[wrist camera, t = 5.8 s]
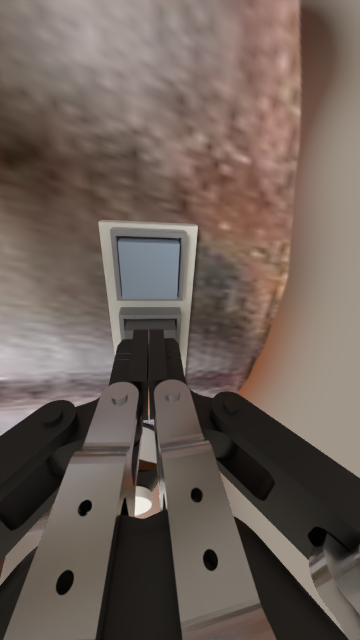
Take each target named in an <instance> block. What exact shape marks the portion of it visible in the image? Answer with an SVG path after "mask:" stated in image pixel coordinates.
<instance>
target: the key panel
mask: <svg viewBox="0 0 360 640" xmlns="http://www.w3.org/2000/svg"><path fill="white" fill-rule="evenodd" d="M98 225H99V233H100V241H101V249H102V257H103V265H104V273H105V281H106V289H107V297H108V305H109V313H110V321H111V329H112V337H113V345H114V353H115V355H116V350H117V346H118V345H119V343H120V342H121V341H122V340H123V339H125V332H124V330H125V325H126V320H127V319H174V320H175V326H176V341H177V342H178V344H179V348H180V353H181V359H182V365H183V370H184V376H185V368H186V356H187V345H188V334H189V322H190V311H191V300H192V288H193V277H194V266H195V255H196V243H197V232H198V226H197V225H196V224H187V223H165V222H143V221H121V220H101V221H99V222H98ZM121 237H132V238H160V239H177V240H178V242H179V243H180V250H179V269H178V289H177V299H123V297H122V285H121V274H120V262H119V251H118V241H119V239H120V238H121Z"/></svg>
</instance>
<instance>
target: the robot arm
mask: <svg viewBox="0 0 360 640" xmlns="http://www.w3.org/2000/svg"><path fill="white" fill-rule="evenodd" d="M148 397H149V410H150V420H151V419H154V434H155V449H156V460H157V471H158V482H159V493H160V511H161V512H159V513H157V514H154V515H152V516H150V517H148V518H145V519H139V518H135V517H134V514H135V494H136V483H137V475H138V466H139V457H140V449H141V440H142V433H143V420H148ZM220 472H221V473H222V474H223V475H224V476H225V477H226V478H227V479H228V480H229V481H230V482H231V483H232V484H233V485H234V486H235V487H236V488H237V489H238V490H239V491H240V492H241V493H242V494H243V495H244V496H245V497H246V498H247V499H248V500H249V501H250V502H251V503H252V504H253V505H254V506H255V507H256V508H257V509H258V510H259V511H260V512H261V513H262V514H263V515H264V516H265V517H266V518H267V519H268V520H269V521H270V522H271V523H272V524H273V525H274V526H275V527H276V528H277V529H278V530H279V531H280V532H281V533H282V534H283V535H284V536H285V537H286V538H287V539H288V540H289V541H290V542H291V543H292V544H293V545H294V546H295V547H296V548H297V549H298V550H299V551H300V552H301V553H302V554H303V555H304V556H305V557H306V558H307V559H308V560H309V567H310V573H311V577H312V580H313V583H314V585H315V587H316V590H317V592H318V593H319V595H320V597H321V598H322V600H323V601H324V603H325V604H326V606H327V607H328V608H329V609H330V611H331V612H332V613H333V615H334V616H335V617H336V619H337V621H338V622H339V624H340V625H341V627H342V629H343V631H344V633H345V634H344V633H343V632H342V631H341V630H340V629H339V628H338V626H337V625H336V624H335V623H334V622H333V621H332V620H331V618H330V617H329V616H328V615H327V614H326V613H325V612H324V611H323V609H322V608H321V607H320V606H319V605H318V604H317V603H316V601H315V600H314V599H313V598H312V597H311V596H310V595H309V593H308V592H307V591H306V590H305V589H304V588H303V587H302V586H301V584H300V583H299V582H298V581H297V580H296V579H295V578H294V576H293V575H292V574H291V573H290V572H289V571H288V570H287V568H286V567H285V566H284V565H283V564H282V563H281V562H280V560H279V559H278V558H277V557H276V556H275V555H274V553H273V552H272V551H271V550H270V549H269V548H268V547H267V545H266V544H265V543H264V542H263V541H262V540H261V539H260V538H259V537H258V535H257V534H256V533H255V532H254V531H253V530H252V529H251V528H249V527H248V526H247V525H246V524H245V523H244V522H242V521H241V520H239V519H238V518H236V517H234V516H233V513H232V510H231V507H230V504H229V500H228V497H227V494H226V491H225V487H224V484H223V481H222V478H221V474H220ZM53 504H54V505H53ZM52 505H53V507H52V510H51V513H50V515H49V518H48V521H47V523H46V526H45V529H44V532H43V534H42V537H41V540H40V542H39V545H38V546H37V547H36V548H35V549H34V550H32V551H31V552H30V553H29V554H28V555H27V556H26V557H25V558H24V559H23V560H22V561H21V562H20V563H19V564H18V565H17V566H16V568H15V569H14V570H13V571H12V572H11V573H10V575H9V576H8V577H7V578H6V579H5V581H4V582H3V583H2V584H1V585H0V640H360V478H359V477H357V476H355V475H354V474H353V473H351V472H350V471H348V470H347V469H346V468H344V467H343V466H341V465H340V464H338V463H337V462H335V461H334V460H332V459H331V458H330V457H328V456H327V455H325V454H324V453H322V452H321V451H320V450H318V449H317V448H315V447H314V446H312V445H311V444H310V443H308V442H307V441H305V440H304V439H302V438H301V437H299V436H298V435H297V434H295V433H294V432H292V431H291V430H289V429H288V428H286V427H285V426H284V425H282V424H281V423H279V422H278V421H276V420H275V419H273V418H272V417H270V416H269V415H268V414H266V413H265V412H263V411H262V410H260V409H259V408H258V407H256V406H255V405H253V404H252V403H250V402H249V401H248V400H246V399H245V398H243V397H242V396H240V395H239V394H236V393H233V392H227V391H226V392H220V393H218V394H217V395H215V397H214V398H210V397H205V396H201V395H198V394H196V393H194V392H193V391H192V390H190V389H189V387H188V386H187V384H186V381H185V376H184V370H183V365H182V359H181V353H180V348H179V344H178V342H177V341H176V340H175V339H174V338H164V331H163V329H149V341H148V329H134V331H133V338H132V339H123V340H122V341H121V342H120V343H119V345H118V346H117V350H116V355H115V359H114V364H113V368H112V373H111V378H110V382H109V386H108V387H107V388H106V389H105V390H104V391H103V392H102V394H101V396H100V397H99V398H98V399H96V400H94V401H92V402H90V403H87V404H84V405H80V406H77V407H75V406H74V405H73V404H72V403H71V402H69V401H66V400H57V401H53V402H50V403H48V404H46V405H44V406H42V407H41V408H39V409H38V410H36V411H35V412H34V413H32V414H31V415H29V416H28V417H27V418H25V419H24V420H22V421H21V422H20V423H18V424H17V425H15V426H14V427H12V428H11V429H10V430H8V431H7V432H5V433H4V434H3V435H1V436H0V561H1V560H2V559H3V558H4V557H5V556H6V555H7V554H8V553H9V552H10V550H11V549H12V548H13V547H14V546H15V545H16V544H17V543H18V542H19V541H20V540H21V538H22V537H23V536H24V535H25V534H26V533H27V532H28V531H29V530H30V529H31V528H32V527H33V525H34V524H35V523H36V522H37V521H38V520H39V519H40V518H41V517H42V516H43V515H44V513H45V512H46V511H47V510H48V509H49V508H50V507H51V506H52ZM345 635H346V636H345Z"/></svg>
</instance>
